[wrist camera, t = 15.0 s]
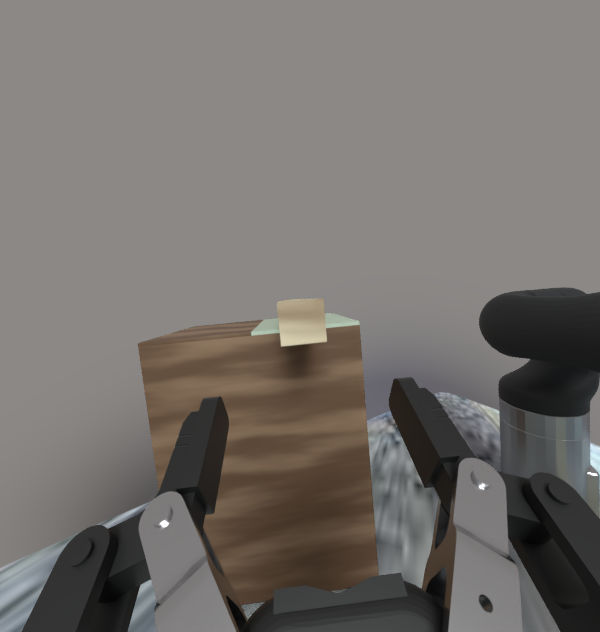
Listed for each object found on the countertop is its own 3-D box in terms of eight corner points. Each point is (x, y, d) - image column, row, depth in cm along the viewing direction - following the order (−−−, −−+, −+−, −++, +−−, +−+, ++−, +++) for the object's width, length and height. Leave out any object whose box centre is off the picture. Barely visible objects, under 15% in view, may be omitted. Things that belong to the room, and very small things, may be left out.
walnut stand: (379, 583, 30) (359, 321, 27) (176, 615, 29) (137, 343, 26) (346, 484, 46) (332, 313, 43) (215, 501, 44) (193, 326, 42)
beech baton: (327, 341, 17) (323, 298, 17) (281, 346, 17) (276, 303, 17) (301, 316, 43) (299, 299, 43) (283, 317, 43) (281, 300, 43)
